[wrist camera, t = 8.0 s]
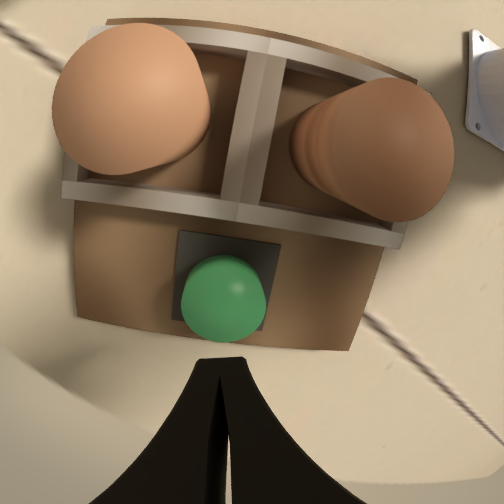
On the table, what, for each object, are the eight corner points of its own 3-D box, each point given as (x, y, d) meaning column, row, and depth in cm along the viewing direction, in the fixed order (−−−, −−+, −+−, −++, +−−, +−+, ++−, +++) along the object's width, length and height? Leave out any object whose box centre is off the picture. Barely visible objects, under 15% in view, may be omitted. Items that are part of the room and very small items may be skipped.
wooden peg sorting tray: (403, 83, 14) (496, 63, 7) (340, 337, 19) (387, 421, 12) (116, 28, 12) (53, -34, 5) (86, 304, 17) (30, 384, 10)
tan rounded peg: (218, 73, 12) (214, 24, 6) (204, 167, 13) (189, 180, 8) (124, 70, 12) (67, 30, 6) (112, 160, 13) (45, 172, 7)
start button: (268, 261, 14) (273, 274, 13) (254, 327, 15) (257, 346, 14) (189, 249, 14) (185, 262, 12) (182, 318, 15) (178, 336, 13)
